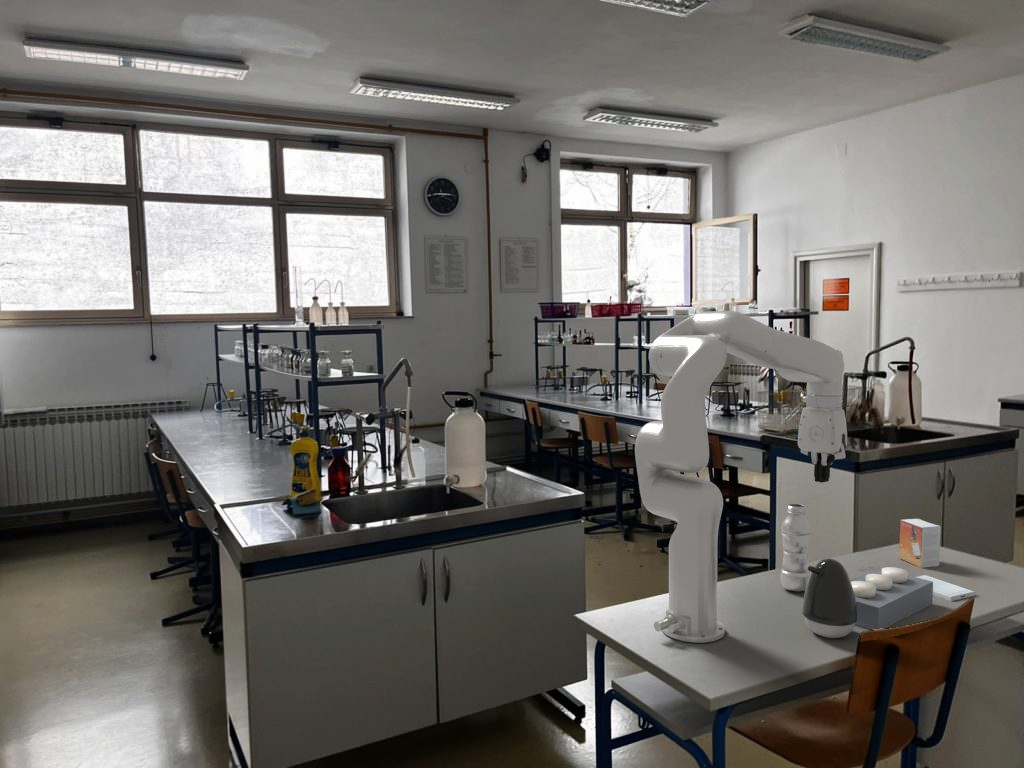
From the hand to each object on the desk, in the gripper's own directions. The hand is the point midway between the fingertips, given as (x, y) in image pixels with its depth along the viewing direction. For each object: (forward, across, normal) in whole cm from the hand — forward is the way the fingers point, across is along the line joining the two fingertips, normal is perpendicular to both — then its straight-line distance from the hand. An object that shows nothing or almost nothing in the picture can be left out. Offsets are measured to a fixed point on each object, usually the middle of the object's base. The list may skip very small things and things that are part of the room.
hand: (821, 481), depth 175 cm
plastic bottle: (+26, -3, -5) cm, 26 cm away
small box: (+25, +5, +37) cm, 45 cm away
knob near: (+24, +15, -9) cm, 30 cm away
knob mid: (+24, +15, -2) cm, 29 cm away
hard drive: (+26, +17, +21) cm, 37 cm away
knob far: (+24, +15, +5) cm, 29 cm away
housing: (+25, +15, -2) cm, 30 cm away
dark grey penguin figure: (+26, +16, -22) cm, 37 cm away
